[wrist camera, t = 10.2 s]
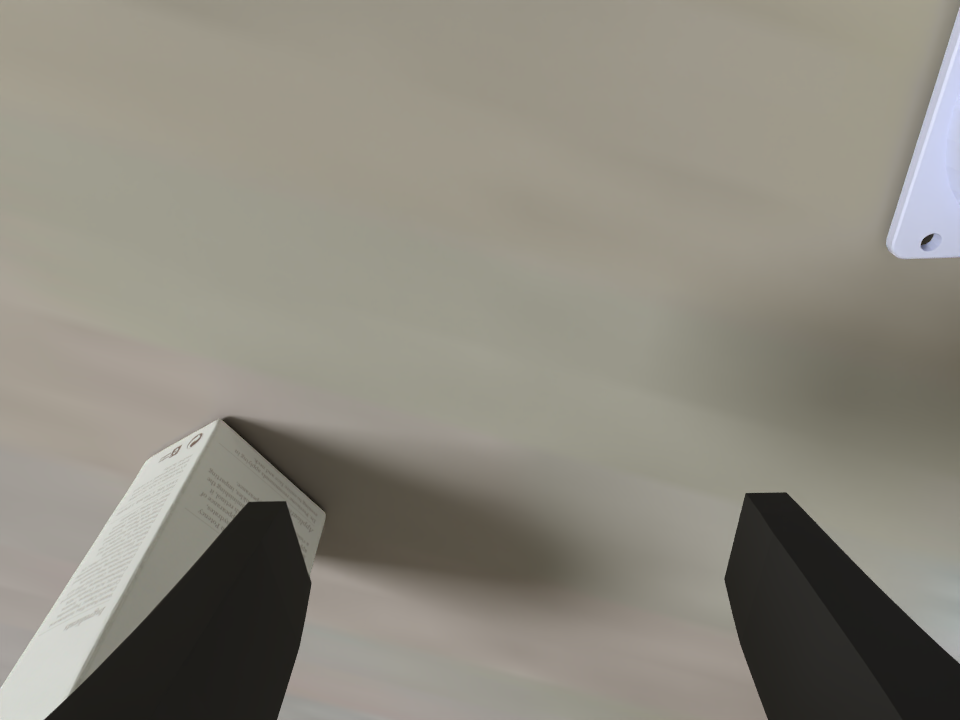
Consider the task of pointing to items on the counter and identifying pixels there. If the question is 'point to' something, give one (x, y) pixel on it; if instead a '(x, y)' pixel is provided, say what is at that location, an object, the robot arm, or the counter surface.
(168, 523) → the skincare box
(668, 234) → the counter surface
